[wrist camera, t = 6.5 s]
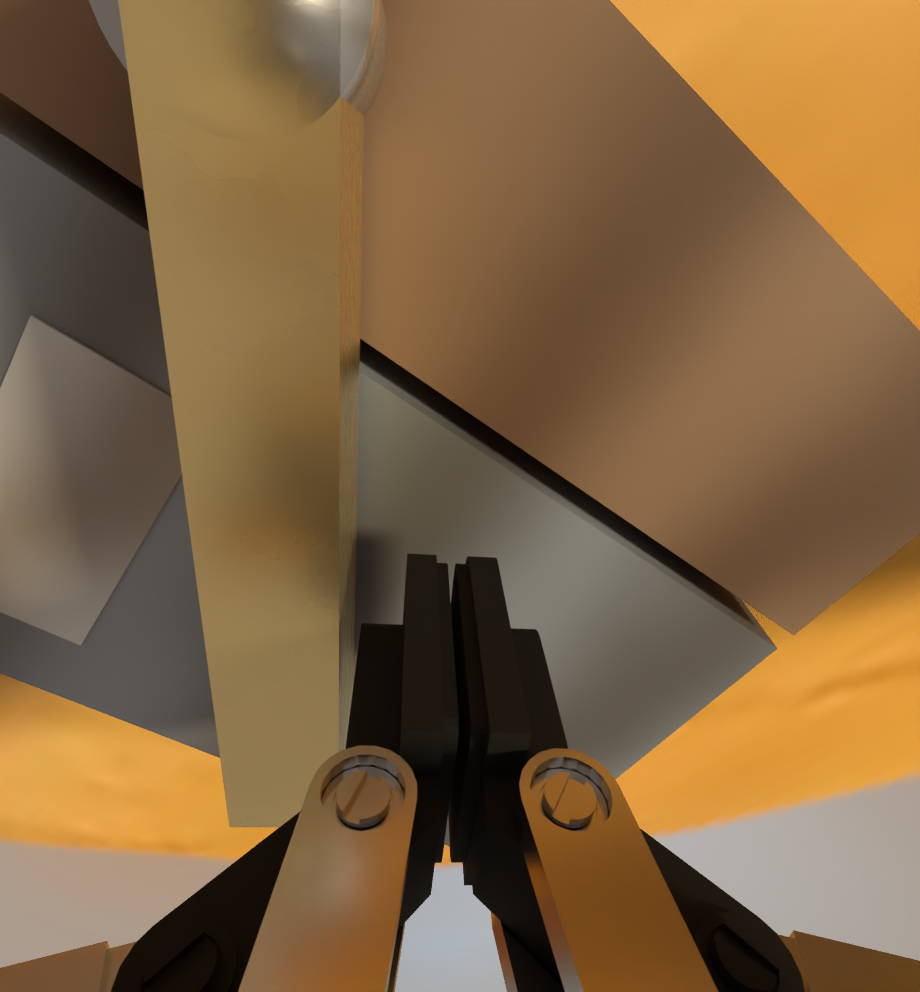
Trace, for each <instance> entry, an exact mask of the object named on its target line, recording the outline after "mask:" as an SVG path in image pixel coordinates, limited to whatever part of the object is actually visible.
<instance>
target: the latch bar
mask: <svg viewBox="0 0 920 992" xmlns="http://www.w3.org/2000/svg"><path fill="white" fill-rule="evenodd" d="M89 3H90V5H91V7H92V10H93V12H94V14H95V17H96V19H97V22H98V24H99V26H100V28H101V30H102V32H103V34H104V35H105V37H106V39H107V41H108V43H109V45H110V47H111V48H112V50H113V51H114V53H115V54H116V56H117V57H118V59H119V60H120V62H121V63H122V65H123V66H124V67H125V68H126V70H127V71H128V77H129V85H130V92H131V99H132V107H133V114H134V122H135V129H136V136H137V144H138V151H139V159H140V166H141V174H142V181H143V188H144V196H145V203H146V211H147V218H148V225H149V233H150V240H151V248H152V255H153V263H154V270H155V277H156V285H157V292H158V300H159V307H160V314H161V322H162V329H163V337H164V344H165V352H166V359H167V366H168V374H169V381H170V389H171V396H172V403H173V411H174V418H175V426H176V433H177V441H178V448H179V455H180V463H181V470H182V478H183V485H184V492H185V500H186V507H187V515H188V522H189V529H190V537H191V544H192V552H193V559H194V567H195V574H196V581H197V589H198V596H199V604H200V611H201V618H202V626H203V633H204V641H205V648H206V656H207V663H208V670H209V678H210V685H211V693H212V700H213V707H214V715H215V722H216V730H217V737H218V745H219V752H220V759H221V767H222V774H223V782H224V789H225V796H226V804H227V811H228V819H229V826H230V827H281V826H282V825H283V824H284V823H286V822H287V821H288V820H290V819H291V818H292V817H293V816H295V815H296V814H297V813H299V812H300V811H301V809H302V806H303V803H304V800H305V797H306V794H307V791H308V788H309V785H310V783H311V781H312V779H313V777H314V775H315V773H316V771H317V770H318V768H319V767H320V766H321V765H322V764H323V763H324V762H325V761H326V760H327V759H328V758H329V757H331V756H333V755H335V754H336V753H338V752H340V751H342V750H344V749H346V741H347V733H348V725H349V717H350V709H351V701H352V693H353V685H354V641H355V587H356V533H357V479H358V425H359V371H360V318H361V264H362V210H363V156H364V116H365V114H366V113H367V112H368V110H369V109H370V107H371V105H372V104H373V102H374V100H375V98H376V96H377V94H378V92H379V89H380V86H381V83H382V80H383V77H384V72H385V68H386V63H387V52H388V31H387V23H386V15H385V11H384V7H383V2H382V0H89Z"/></svg>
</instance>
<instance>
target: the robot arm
mask: <svg viewBox="0 0 920 992" xmlns="http://www.w3.org/2000/svg"><path fill="white" fill-rule="evenodd" d="M447 819H449V841H450V858H451V862H463V873H464V885H472V886H473V894H474V895H475V896H476V897H477V898H478V899H479V900H480V901H481V902H482V903H483V904H484V905H485V906H486V907H487V908H488V909H489V910H490V911H491V919H492V928H493V933H494V937H495V941H496V946H497V950H498V955H499V959H500V963H501V967H502V972H503V976H504V980H505V984H506V989H507V992H920V961H917V960H914V959H910V958H905V957H901V956H897V955H893V954H889V953H885V952H880V951H876V950H872V949H868V948H864V947H860V946H856V945H852V944H847V943H843V942H839V941H835V940H831V939H826V938H823V937H818V936H814V935H810V934H806V933H802V932H798V931H793V932H792V933H791V935H790V937H785V936H782V935H777V933H775V932H774V931H773V930H772V929H771V928H770V927H769V926H768V925H767V924H765V922H763V921H762V920H761V919H760V918H759V917H758V916H756V915H755V914H754V913H752V912H751V911H750V910H748V909H747V908H746V907H744V906H743V905H741V904H740V903H739V902H737V901H736V900H735V899H733V898H732V897H731V896H730V895H728V894H727V893H726V892H724V891H723V890H722V889H720V888H719V887H717V886H716V885H715V884H714V883H712V882H711V881H710V880H708V879H707V878H706V877H704V876H703V875H702V874H700V873H699V872H698V871H696V870H695V869H694V868H692V867H691V866H689V865H688V864H687V863H685V862H684V861H683V860H682V859H680V858H679V857H677V856H676V855H675V854H674V853H672V852H671V851H669V850H668V849H667V848H665V847H664V846H663V845H661V844H660V843H659V842H657V841H656V840H655V839H653V838H652V837H651V836H649V835H648V834H647V833H645V832H644V831H643V830H641V829H640V828H639V826H638V824H637V822H636V820H635V818H634V816H633V814H632V812H631V810H630V807H629V805H628V803H627V801H626V799H625V797H624V795H623V793H622V791H621V789H620V787H619V785H618V783H617V782H616V780H615V779H614V777H613V776H612V774H611V773H610V772H609V771H608V770H607V769H606V768H605V767H604V766H603V765H602V764H601V763H600V762H598V761H597V760H595V759H593V758H592V757H590V756H588V755H586V754H585V753H582V752H578V751H575V750H571V749H568V745H567V741H566V737H565V733H564V729H563V725H562V721H561V717H560V713H559V709H558V705H557V701H556V698H555V694H554V690H553V686H552V682H551V678H550V674H549V670H548V666H547V662H546V658H545V654H544V650H543V646H542V643H541V639H540V636H539V633H538V631H537V630H536V629H515V628H511V626H510V621H509V616H508V611H507V606H506V601H505V596H504V591H503V586H502V581H501V576H500V570H499V565H498V561H497V558H495V557H473V556H467V558H466V563H465V564H457V563H456V564H455V569H454V578H453V587H452V596H451V602H450V588H449V574H448V564H447V563H437V556H436V555H429V554H407V565H406V580H405V595H404V611H403V625H398V624H370V623H362V624H361V629H360V637H359V645H358V653H357V661H356V669H355V677H354V685H353V693H352V701H351V709H350V717H349V725H348V733H347V741H346V749H344V750H342V751H340V752H338V753H336V754H335V755H333V756H331V757H329V758H328V759H327V760H326V761H325V762H324V763H323V764H322V765H321V766H320V767H319V768H318V770H317V771H316V773H315V775H314V777H313V779H312V781H311V783H310V785H309V788H308V791H307V794H306V797H305V800H304V803H303V806H302V809H301V811H300V812H299V813H297V814H296V815H295V816H293V817H292V818H291V819H290V820H288V821H287V822H286V823H284V824H283V825H282V826H281V827H279V828H278V829H277V830H276V831H274V832H273V833H272V834H270V835H269V836H268V837H267V838H265V839H264V840H263V841H261V842H260V843H259V844H258V845H256V846H255V847H254V848H252V849H251V850H250V851H249V852H247V853H246V854H245V855H243V856H242V857H241V858H240V859H238V860H237V861H236V862H235V863H233V864H232V865H231V866H229V867H228V868H227V869H226V870H224V871H223V872H222V873H221V874H219V875H218V876H217V877H215V878H214V879H213V880H212V881H210V882H209V883H208V884H206V885H205V886H204V887H202V888H201V889H200V890H199V891H197V892H196V893H195V894H194V895H192V896H191V897H190V898H188V899H187V900H186V901H185V902H183V903H182V904H181V905H180V906H178V907H177V908H176V909H174V910H173V911H172V912H170V913H169V914H168V915H167V916H165V917H164V918H163V919H162V920H160V921H159V922H158V923H156V924H155V925H154V926H153V927H152V928H151V929H150V930H149V931H147V933H146V934H145V935H143V936H142V937H141V938H140V939H139V940H138V941H137V942H133V943H129V944H126V945H122V946H118V947H114V948H109V945H108V942H107V941H105V942H102V943H97V944H93V945H89V946H85V947H81V948H78V949H74V950H70V951H66V952H62V953H58V954H54V955H50V956H46V957H42V958H38V959H35V960H30V961H26V962H23V963H18V964H14V965H10V966H6V967H2V968H0V992H395V986H396V980H397V973H398V967H399V960H400V954H401V947H402V941H403V935H404V928H405V922H406V920H407V919H408V918H409V917H410V916H411V915H412V914H413V913H414V912H415V911H416V910H417V908H419V906H420V905H421V904H422V903H423V902H424V901H425V900H426V899H427V898H428V897H429V895H431V888H432V880H433V872H434V865H435V863H441V862H442V855H443V848H444V841H445V834H446V826H447Z"/></svg>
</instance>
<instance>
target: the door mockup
mask: <svg viewBox="0 0 920 992" xmlns="http://www.w3.org/2000/svg"><path fill="white" fill-rule="evenodd" d="M382 2H383V7H384V11H385V15H386V23H387V31H388V52H387V63H386V68H385V72H384V77H383V80H382V83H381V86H380V89H379V92H378V94H377V96H376V98H375V100H374V102H373V104H372V105H371V107H370V109H369V110H368V112H367V113H366V114H365V116H364V156H363V210H362V264H361V318H360V371H359V425H358V479H357V533H356V587H355V641H354V677H355V669H356V661H357V653H358V645H359V637H360V629H361V624H362V623H370V624H398V625H403V611H404V595H405V580H406V565H407V554H429V555H436V556H437V563H447V564H448V574H449V588H450V602H451V596H452V587H453V578H454V569H455V564H456V563H457V564H465V563H466V558H467V556H473V557H495V558H497V561H498V565H499V570H500V576H501V581H502V586H503V591H504V596H505V601H506V606H507V611H508V616H509V621H510V626H511V628H515V629H536V630H537V631H538V633H539V636H540V639H541V643H542V646H543V650H544V654H545V658H546V662H547V666H548V670H549V674H550V678H551V682H552V686H553V690H554V694H555V698H556V701H557V705H558V709H559V713H560V717H561V721H562V725H563V729H564V733H565V737H566V741H567V745H568V749H571V750H575V751H578V752H582V753H585V754H586V755H588V756H590V757H592V758H593V759H595V760H597V761H598V762H600V763H601V764H602V765H603V766H604V767H605V768H606V769H607V770H608V771H609V772H610V773H611V774H612V776H613V777H614V779H616V778H618V777H619V776H620V775H621V774H623V773H624V772H625V771H626V770H627V769H629V768H630V767H631V766H632V765H634V764H635V763H636V762H637V761H639V760H640V759H641V758H642V757H644V756H645V755H646V754H647V753H649V752H650V751H651V750H652V749H653V748H655V747H656V746H657V745H658V744H660V743H661V742H662V741H663V740H665V739H666V738H667V737H668V736H670V735H671V734H672V733H673V732H675V731H676V730H677V729H678V728H679V727H681V726H682V725H683V724H684V723H686V722H687V721H688V720H689V719H691V718H692V717H693V716H694V715H696V714H697V713H698V712H699V711H701V710H702V709H703V708H704V707H705V706H707V705H708V704H709V703H710V702H712V701H713V700H714V699H715V698H717V697H718V696H719V695H720V694H722V693H723V692H724V691H725V690H726V689H728V688H729V687H730V686H731V685H733V684H734V683H735V682H736V681H738V680H739V679H740V678H741V677H743V676H744V675H745V674H746V673H748V672H749V671H750V670H751V669H752V668H754V667H755V666H756V665H757V664H759V663H760V662H761V661H762V660H764V659H765V658H766V657H767V656H769V655H770V654H771V653H772V652H774V651H775V650H776V649H777V647H776V646H775V645H774V643H773V642H772V641H771V639H770V638H769V637H768V635H767V634H766V632H765V631H764V630H763V628H762V627H761V626H760V624H759V623H758V622H757V620H756V619H755V617H754V616H753V615H752V613H751V612H750V611H749V609H748V608H747V607H746V605H745V604H744V603H743V601H744V602H746V603H747V604H749V605H750V606H752V607H753V608H755V609H756V610H758V611H759V612H761V613H762V614H763V615H765V616H766V617H768V618H769V619H771V620H772V621H774V622H775V623H777V624H778V625H780V626H781V627H782V628H784V629H785V630H787V631H788V632H790V633H791V634H793V635H795V634H796V633H797V632H798V631H800V630H801V629H802V628H803V627H804V626H806V625H807V624H808V623H809V622H811V621H812V620H813V619H814V618H816V617H817V616H818V615H819V614H821V613H822V612H823V611H824V610H826V609H827V608H828V607H829V606H830V605H832V604H833V603H834V602H835V601H837V600H838V599H839V598H840V597H842V596H843V595H844V594H845V593H847V592H848V591H849V590H850V589H852V588H853V587H854V586H855V585H856V584H858V583H859V582H860V581H861V580H863V579H864V578H865V577H866V576H868V575H869V574H870V573H871V572H873V571H874V570H875V569H876V568H878V567H879V566H880V565H881V564H882V563H884V562H885V561H886V560H887V559H889V558H890V557H891V556H892V555H894V554H895V553H896V552H897V551H899V550H900V549H901V548H902V547H904V546H905V545H906V544H907V543H908V542H910V541H911V540H912V539H913V538H915V537H916V536H917V535H918V534H920V331H919V330H918V329H917V328H916V327H915V325H914V324H913V323H912V322H911V321H910V320H909V319H908V318H907V317H906V316H905V315H904V314H903V313H902V312H901V311H900V309H899V308H898V307H897V306H896V305H895V304H894V303H893V302H892V301H891V300H890V299H889V298H888V297H887V296H886V295H885V294H884V292H883V291H882V290H881V289H880V288H879V287H878V286H877V285H876V284H875V283H874V282H873V281H872V280H871V279H870V278H869V276H868V275H867V274H866V273H865V272H864V271H863V270H862V269H861V268H860V267H859V266H858V265H857V264H856V263H855V262H854V260H853V259H852V258H851V257H850V256H849V255H848V254H847V253H846V252H845V251H844V250H843V249H842V248H841V247H840V246H839V244H838V243H837V242H836V241H835V240H834V239H833V238H832V237H831V236H830V235H829V234H828V233H827V232H826V231H825V230H824V228H823V227H822V226H821V225H820V224H819V223H818V222H817V221H816V220H815V219H814V218H813V217H812V216H811V215H810V214H809V212H808V211H807V210H806V209H805V208H804V207H803V206H802V205H801V204H800V203H799V202H798V201H797V200H796V199H795V198H794V196H793V195H792V194H791V193H790V192H789V191H788V190H787V189H786V188H785V187H784V186H783V185H782V184H781V183H780V182H779V180H778V179H777V178H776V177H775V176H774V175H773V174H772V173H771V172H770V171H769V170H768V169H767V168H766V167H765V166H764V164H763V163H762V162H761V161H760V160H759V159H758V158H757V157H756V156H755V155H754V154H753V153H752V152H751V151H750V150H749V148H748V147H747V146H746V145H745V144H744V143H743V142H742V141H741V140H740V139H739V138H738V137H737V136H736V135H735V134H734V132H733V131H732V130H731V129H730V128H729V127H728V126H727V125H726V124H725V123H724V122H723V121H722V120H721V119H720V118H719V117H718V115H717V114H716V113H715V112H714V111H713V110H712V109H711V108H710V107H709V106H708V105H707V104H706V103H705V102H704V101H703V99H702V98H701V97H700V96H699V95H698V94H697V93H696V92H695V91H694V90H693V89H692V88H691V87H690V86H689V85H688V83H687V82H686V81H685V80H684V79H683V78H682V77H681V76H680V75H679V74H678V73H677V72H676V71H675V70H674V69H673V67H672V66H671V65H670V64H669V63H668V62H667V61H666V60H665V59H664V58H663V57H662V56H661V55H660V54H659V53H658V51H657V50H656V49H655V48H654V47H653V46H652V45H651V44H650V43H649V42H648V41H647V40H646V39H645V38H644V37H643V35H642V34H641V33H640V32H639V31H638V30H637V29H636V28H635V27H634V26H633V25H632V24H631V23H630V22H629V21H628V19H627V18H626V17H625V16H624V15H623V14H622V13H621V12H620V11H619V10H618V9H617V8H616V7H615V6H614V5H613V3H612V2H611V1H610V0H382ZM741 599H742V600H743V601H742V600H741ZM0 673H1V674H4V675H6V676H9V677H12V678H14V679H17V680H19V681H22V682H25V683H27V684H30V685H32V686H35V687H38V688H40V689H43V690H45V691H48V692H51V693H53V694H56V695H58V696H61V697H64V698H66V699H69V700H71V701H74V702H77V703H79V704H82V705H84V706H87V707H89V708H92V709H95V710H97V711H100V712H102V713H105V714H108V715H110V716H113V717H115V718H118V719H121V720H123V721H126V722H128V723H131V724H134V725H136V726H139V727H141V728H144V729H147V730H149V731H152V732H154V733H157V734H160V735H162V736H165V737H167V738H170V739H173V740H175V741H178V742H180V743H183V744H186V745H188V746H191V747H193V748H196V749H198V750H201V751H204V752H206V753H209V754H211V755H214V756H217V757H219V758H220V752H219V745H218V737H217V730H216V722H215V715H214V707H213V700H212V693H211V685H210V678H209V670H208V663H207V656H206V648H205V641H204V633H203V626H202V618H201V611H200V604H199V596H198V589H197V581H196V574H195V567H194V559H193V552H192V544H191V537H190V529H189V522H188V515H187V507H186V500H185V492H184V485H183V478H182V470H181V463H180V455H179V448H178V441H177V433H176V426H175V418H174V411H173V403H172V396H171V389H170V381H169V374H168V366H167V359H166V352H165V344H164V337H163V329H162V322H161V314H160V307H159V300H158V292H157V285H156V277H155V270H154V263H153V255H152V248H151V240H150V233H149V225H148V218H147V211H146V203H145V196H144V188H143V181H142V174H141V166H140V159H139V151H138V144H137V136H136V129H135V122H134V114H133V107H132V99H131V92H130V85H129V77H128V71H127V70H126V68H125V67H124V66H123V65H122V63H121V62H120V60H119V59H118V57H117V56H116V54H115V53H114V51H113V50H112V48H111V47H110V45H109V43H108V41H107V39H106V37H105V35H104V34H103V32H102V30H101V28H100V26H99V24H98V22H97V19H96V17H95V14H94V12H93V10H92V7H91V5H90V3H89V0H0ZM444 844H445V845H448V846H450V841H449V819H447V826H446V834H445V841H444Z"/></svg>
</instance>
